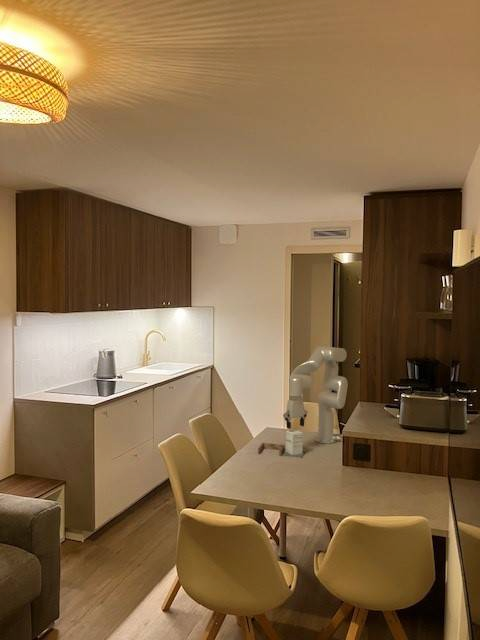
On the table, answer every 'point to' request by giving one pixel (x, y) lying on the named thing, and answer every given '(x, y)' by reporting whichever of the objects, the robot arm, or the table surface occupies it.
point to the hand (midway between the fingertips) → (295, 427)
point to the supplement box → (294, 442)
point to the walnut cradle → (272, 447)
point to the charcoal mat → (294, 455)
